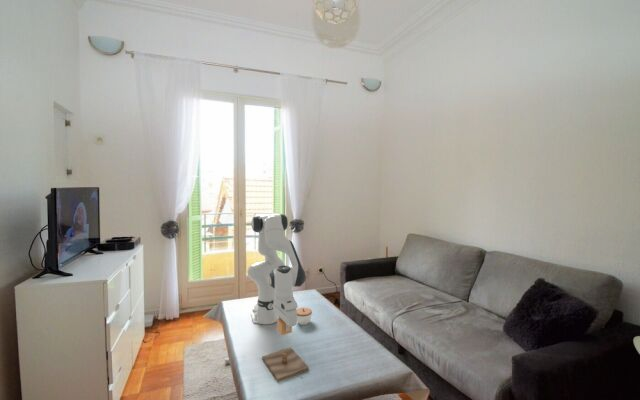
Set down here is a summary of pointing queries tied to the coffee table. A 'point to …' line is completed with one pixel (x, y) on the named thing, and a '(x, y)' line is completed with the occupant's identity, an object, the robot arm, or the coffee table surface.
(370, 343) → the coffee table surface
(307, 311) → the lidded jar
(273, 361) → the post block
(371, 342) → the coffee table surface
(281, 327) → the wooden toy cube
